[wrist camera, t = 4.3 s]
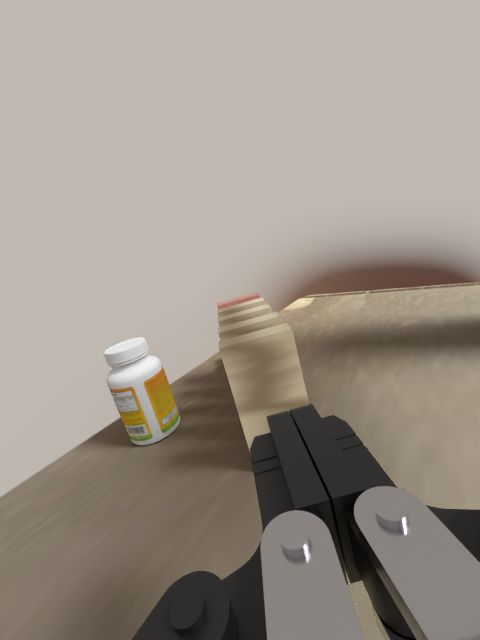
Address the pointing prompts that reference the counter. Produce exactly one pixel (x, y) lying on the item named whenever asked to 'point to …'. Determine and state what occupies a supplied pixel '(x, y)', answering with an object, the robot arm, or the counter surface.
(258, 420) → the domino
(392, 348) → the counter surface
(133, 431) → the supplement bottle
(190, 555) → the counter surface
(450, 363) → the counter surface
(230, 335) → the domino
